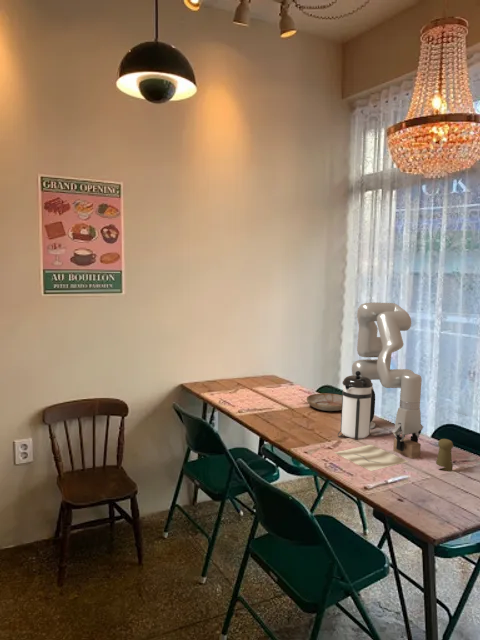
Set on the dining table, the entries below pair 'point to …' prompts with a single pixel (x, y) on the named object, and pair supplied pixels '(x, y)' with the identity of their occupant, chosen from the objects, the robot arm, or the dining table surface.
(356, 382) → the coffee press
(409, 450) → the block
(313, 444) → the dining table surface
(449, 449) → the cork
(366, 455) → the birch board
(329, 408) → the ceramic bowl
